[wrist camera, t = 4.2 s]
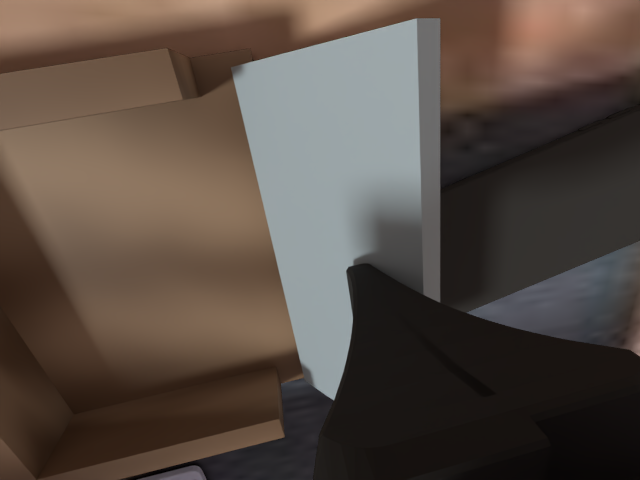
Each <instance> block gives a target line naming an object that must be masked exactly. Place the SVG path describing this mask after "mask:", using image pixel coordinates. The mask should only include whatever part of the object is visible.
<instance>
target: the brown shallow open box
mask: <svg viewBox="0 0 640 480" xmlns="http://www.w3.org/2000/svg"><path fill="white" fill-rule="evenodd" d="M249 62H253V59H252V54H251V50H250V49H244V50H237V51H231V52H225V53H218V54H212V55H206V56H199V57H193V58H189V57H186V56H184V55H182V54H180V53H177V52H175V51H173V50H171V49H168V48H164V49H157V50H151V51H144V52H138V53H131V54H125V55H118V56H112V57H105V58H99V59H93V60H86V61H80V62H73V63H67V64H60V65H54V66H47V67H41V68H34V69H28V70H21V71H15V72H9V73H2V74H0V480H119V479H123V478H127V477H131V476H135V475H139V474H143V473H147V472H151V471H155V470H159V469H163V468H166V467H170V466H174V465H178V464H182V463H186V462H190V461H194V460H198V459H202V458H206V457H209V456H213V455H217V454H221V453H225V452H229V451H233V450H237V449H241V448H245V447H249V446H252V445H256V444H260V443H264V442H268V441H272V440H276V439H280V438H284V437H285V434H284V420H283V406H282V392H281V383H285V382H289V381H293V380H297V379H301V378H304V375H303V371H302V366H301V362H300V358H299V354H298V349H297V345H296V341H295V337H294V333H293V328H292V324H291V320H290V316H289V311H288V307H287V303H286V299H285V294H284V290H283V286H282V282H281V278H280V273H279V269H278V265H277V261H276V256H275V252H274V248H273V244H272V240H271V235H270V231H269V227H268V223H267V218H266V214H265V210H264V206H263V202H262V197H261V193H260V189H259V185H258V180H257V176H256V172H255V168H254V163H253V159H252V155H251V151H250V147H249V142H248V138H247V134H246V130H245V125H244V121H243V117H242V113H241V109H240V104H239V100H238V96H237V92H236V87H235V83H234V79H233V75H232V71H231V67H234V66H238V65H242V64H246V63H249Z"/></svg>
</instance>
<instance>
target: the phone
mask: <svg viewBox="0 0 640 480" xmlns="http://www.w3.org/2000/svg"><path fill="white" fill-rule="evenodd" d="M638 241H640V104H639V105H637V106H635V107H632V108H628V109H625V110H623V111H620V112H618V113H616V114H613V115H611V116H609V117H607V119H604V120H602V121H597V122H594V123H592V124H590V125H587V126H585V127H583V128H580V129H578V131H576V132H574V133H571V134H569V135H567V136H564V137H562V138H560V139H557V140H555V141H553V142H550V143H548V144H546V145H543V146H541V147H539V148H536V149H534V150H532V151H529V152H527V153H525V154H522V155H520V156H518V157H515V158H513V159H511V160H508V161H506V162H504V163H501V164H499V165H497V166H494V167H492V168H489V169H487V170H485V171H482V172H480V173H478V174H475V175H473V176H471V177H468V178H466V179H464V180H461V181H459V182H457V183H454V184H452V185H450V186H447V187H445V188H443V189H440V303H442V304H444V305H447V306H449V307H452V308H454V309H457V310H460V311H462V312H465V313H466V312H469V311H471V310H473V309H476V308H478V307H481V306H483V305H485V304H488V303H490V302H493V301H495V300H498V299H500V298H502V297H505V296H507V295H510V294H512V293H514V292H517V291H519V290H522V289H524V288H527V287H529V286H531V285H534V284H536V283H539V282H541V281H543V280H546V279H548V278H551V277H553V276H556V275H558V274H560V273H563V272H565V271H568V270H570V269H572V268H575V267H577V266H580V265H582V264H585V263H587V262H589V261H592V260H594V259H597V258H599V257H601V256H604V255H606V254H609V253H611V252H614V251H616V250H618V249H621V248H623V247H626V246H628V245H630V244H633V243H635V242H638Z"/></svg>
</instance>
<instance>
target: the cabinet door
mask: <svg viewBox="0 0 640 480" xmlns="http://www.w3.org/2000/svg"><path fill="white" fill-rule="evenodd" d="M231 71H232V75H233V79H234V83H235V87H236V92H237V96H238V100H239V104H240V109H241V113H242V117H243V121H244V125H245V130H246V134H247V138H248V142H249V147H250V151H251V155H252V159H253V163H254V168H255V172H256V176H257V180H258V185H259V189H260V193H261V197H262V202H263V206H264V210H265V214H266V218H267V223H268V227H269V231H270V235H271V240H272V244H273V248H274V252H275V256H276V261H277V265H278V269H279V273H280V278H281V282H282V286H283V290H284V294H285V299H286V303H287V307H288V311H289V316H290V320H291V324H292V328H293V333H294V337H295V341H296V345H297V349H298V354H299V358H300V362H301V366H302V371H303V375H304V379H305V381H306V382H307V383H309V384H310V385H312V386H313V387H315V388H316V389H318V390H319V391H321V392H322V393H323V394H325V395H326V396H328V397H329V398H331V399H332V400H334V399H335V396H336V393H337V390H338V387H339V384H340V381H341V378H342V375H343V371H344V368H345V364H346V359H347V355H348V350H349V346H350V340H351V333H352V324H353V315H352V308H351V301H350V294H349V288H348V281H347V274H346V270H347V269H348V267H350V266H354V265H358V264H363V263H368V264H371V265H372V266H374V267H375V268H377V269H378V270H380V271H382V272H383V273H385V274H387V275H388V276H390V277H392V278H393V279H395V280H397V281H398V282H400V283H402V284H404V285H406V286H407V287H409V288H411V289H413V290H415V291H417V292H419V293H421V294H423V295H425V296H427V297H429V298H431V299H433V300H435V301H437V302H440V18H416V19H412V20H409V21H405V22H401V23H397V24H393V25H390V26H386V27H382V28H378V29H374V30H371V31H367V32H363V33H359V34H356V35H352V36H348V37H344V38H340V39H337V40H333V41H329V42H325V43H321V44H318V45H314V46H310V47H306V48H302V49H299V50H295V51H291V52H287V53H284V54H280V55H276V56H272V57H268V58H265V59H261V60H257V61H253V62H249V63H246V64H242V65H238V66H234V67H231Z"/></svg>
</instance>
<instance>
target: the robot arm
mask: <svg viewBox="0 0 640 480" xmlns="http://www.w3.org/2000/svg"><path fill="white" fill-rule="evenodd" d="M346 274H347V281H348V288H349V294H350V301H351V308H352V315H353V324H352V333H351V340H350V346H349V350H348V355H347V359H346V364H345V368H344V371H343V375H342V378H341V381H340V384H339V387H338V390H337V393H336V396H335V399H334V402H333V404H332V407H331V409H330V411H329V414H328V416H327V418H326V421H325V423H324V425H323V428H322V430H321V432H320V435H319V441H318V447H317V454H316V460H315V468H314V475H313V480H640V356H638V355H637V354H635V353H634V352H632V351H631V350H627V349H620V348H614V347H608V346H601V345H595V344H589V343H582V342H576V341H570V340H565V339H560V338H555V337H550V336H546V335H541V334H537V333H532V332H528V331H524V330H520V329H516V328H512V327H509V326H505V325H502V324H498V323H495V322H492V321H488V320H485V319H482V318H479V317H476V316H473V315H470V314H467V313H465V312H462V311H460V310H457V309H454V308H452V307H449V306H447V305H444V304H442V303H440V302H437V301H435V300H433V299H431V298H429V297H427V296H425V295H423V294H421V293H419V292H417V291H415V290H413V289H411V288H409V287H407V286H406V285H404V284H402V283H400V282H398V281H397V280H395V279H393V278H392V277H390V276H388V275H387V274H385V273H383V272H382V271H380V270H378V269H377V268H375V267H374V266H372V265H371V264H368V263H363V264H358V265H354V266H350V267H348V269H347V270H346ZM137 480H207V479H206V477H205V475H204V473H203V471H202V469H201V468H200V467H199V466H195V465H193V466H188V467H184V468H180V469H176V470H172V471H168V472H165V473H161V474H157V475H153V476H149V477H145V478H141V479H137Z"/></svg>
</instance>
